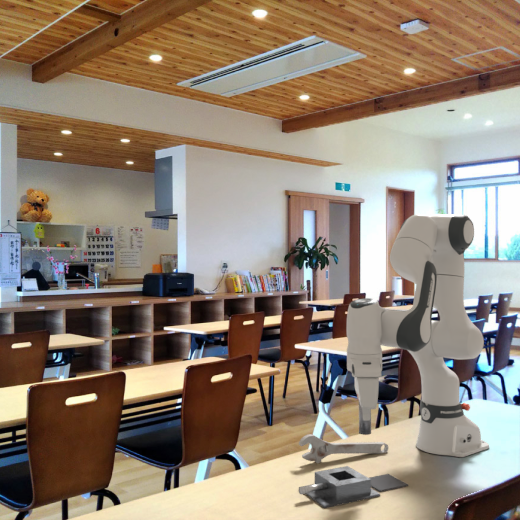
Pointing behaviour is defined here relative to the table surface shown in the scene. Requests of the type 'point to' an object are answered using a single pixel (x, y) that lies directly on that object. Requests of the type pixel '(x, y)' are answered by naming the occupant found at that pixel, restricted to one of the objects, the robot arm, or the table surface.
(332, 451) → the wrench
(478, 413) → the table surface
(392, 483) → the mat
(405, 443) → the table surface
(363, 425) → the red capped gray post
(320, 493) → the grey square socket base
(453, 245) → the robot arm
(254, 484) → the table surface
